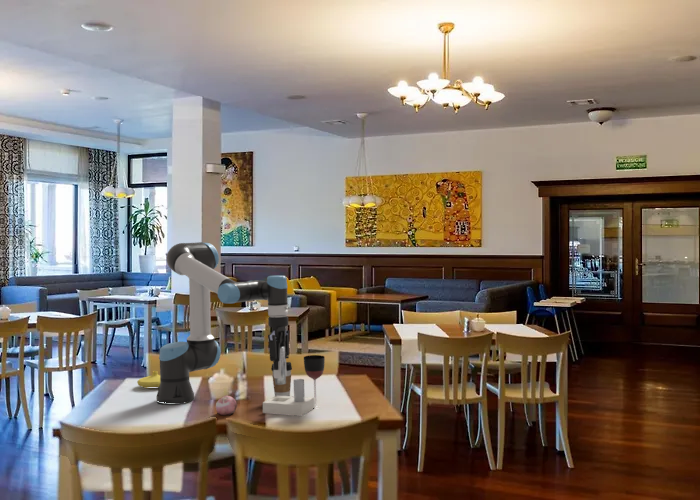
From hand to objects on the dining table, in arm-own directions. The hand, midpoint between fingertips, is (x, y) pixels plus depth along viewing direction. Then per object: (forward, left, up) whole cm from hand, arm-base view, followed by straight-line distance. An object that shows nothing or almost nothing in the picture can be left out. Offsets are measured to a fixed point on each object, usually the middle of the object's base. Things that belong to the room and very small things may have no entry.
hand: (280, 376), depth 269 cm
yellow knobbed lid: (-74, +22, -13) cm, 79 cm away
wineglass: (+11, +8, -14) cm, 19 cm away
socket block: (+3, 0, -13) cm, 13 cm away
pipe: (0, 0, -3) cm, 3 cm away
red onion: (-18, -11, -13) cm, 24 cm away
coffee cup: (-7, +15, -13) cm, 21 cm away
